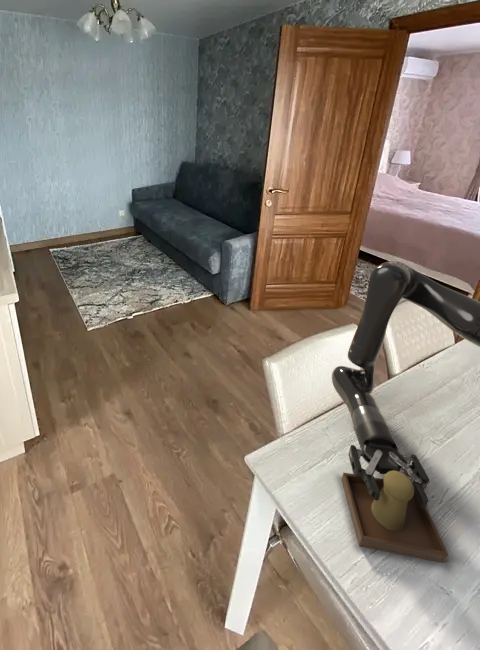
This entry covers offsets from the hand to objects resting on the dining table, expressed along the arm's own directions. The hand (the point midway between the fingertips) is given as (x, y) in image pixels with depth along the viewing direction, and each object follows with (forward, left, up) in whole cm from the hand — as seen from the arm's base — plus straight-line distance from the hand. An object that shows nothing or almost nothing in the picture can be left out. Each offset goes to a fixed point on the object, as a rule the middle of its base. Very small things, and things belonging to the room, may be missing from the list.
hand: (400, 501), depth 68 cm
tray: (0, -2, -8) cm, 8 cm away
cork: (0, -2, -7) cm, 8 cm away
